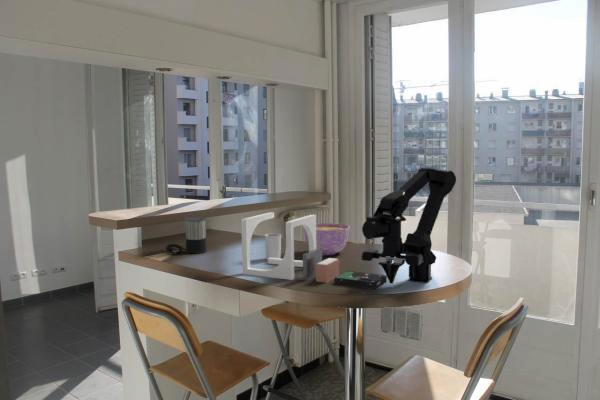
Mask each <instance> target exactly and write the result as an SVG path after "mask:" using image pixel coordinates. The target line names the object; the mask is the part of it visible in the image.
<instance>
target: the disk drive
mask: <svg viewBox="0 0 600 400" xmlns="http://www.w3.org/2000/svg"><path fill="white" fill-rule="evenodd" d="M387 280H388V278H387V275H386V274H385V275H384V274H377V273H368V272H362V271H353V270H345V271H343V272H342V273H340V274H339V275H338V276H337V277H335V278H334V279H333V283H334V284H335V285H343V286H350V287H355V288H362V287H364V289H369V288H370V289H369V290H377V289H378V288H379V286H380V287H381V286H383V285H384V284H385V283H387ZM376 288H377V289H376Z"/></svg>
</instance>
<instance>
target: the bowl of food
mask: <svg viewBox="0 0 600 400" xmlns="http://www.w3.org/2000/svg"><path fill="white" fill-rule="evenodd" d="M302 228H303V233H304V237H305V238H304V239H305V241H306V245H307V247H308V248H309V239H308V235H307V232H306V230H305V228H304V227H303V226H302ZM350 229H351V226H350V225H348V224H344V223H334V222H320V223H317V222H316V249H317V248H322V256H334V255H336V254H337V253H339V252H341V251H343V250H344V248H345V247H346V246H347V243H348V242H347V241H348V238H349V233H350Z"/></svg>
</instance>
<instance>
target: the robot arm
mask: <svg viewBox="0 0 600 400" xmlns="http://www.w3.org/2000/svg"><path fill="white" fill-rule="evenodd" d="M456 183H457V176H456V174H455V173H454V172H453V171H452V170H439V169H435V168H432V167H420V168H419V169H418V170H417V172H416V173H415V174H413V176H412V177H411V178H409V180H408V181H406V182H405V183H404V184H403V185H402V186H401V187H400V188H399V189H397V190H395V191H392V192H390V193H388V194H386V195H384V196H383V197H382V198H381V199H380V201H379V204H378V205H377V208H376V210H375V212H374V213H373V214H372V215H373V216H367V217H366V221H364V223H363V225H362V228H361V232H362V235H363V236H364V237H365V239H367V240H373V239H378V238H382V239H381V243H382V252H379V250H378V249H373V248H371V249H369V248H368V249H365V250H364V251H363V252H362V253H361V261H363V262H364V261H365V262H371V261H372V260H374V259H379V261H378V265H380V266H381V268H382V269H383V271H384V273H385V276H387V280H388V282H389V284H392V285H393V284H394V281H395V278H396V276H397V273H398V271H399V270H400V268H401V266H403V265H405V263H406V264H407V265H408V281H411V282H420V283H430V281H431V280H432V279H433V276H432V265H433V264H435V263H436V259H437V256H436V255H435V254H434V252H433V251H432V245H433V244H432V240H431V234H432V231H433V228H434V225H435V224H436V220H437V218H438V215H439V214H440V213H439V212H440V210H441V207H442V204H443V201H444V199H445V197H446V196H447V195H448V194H450V193H451V192H452V190H453V189H454V187H455V185H456ZM427 184H428V188H429V194H428V197H427V199H426V202H425V205H424V208H423V209H422V210H423V211H422V214H421V216H420V219H419V221H418V224H417V227H416V229H415V231H414V232H410V233H407V234H406V238H405V240H404V242H403V238H402V222H406V221H407V218H405V216H403V214H404V212H405V211H406V209H407V208H408V207H409V203H410V200H411V199H413V197H414V196H416V195H417V193H419V192H420V191H421V190H422V189H423V188H424V187H425V186H426V185H427Z"/></svg>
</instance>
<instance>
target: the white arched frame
mask: <svg viewBox="0 0 600 400" xmlns="http://www.w3.org/2000/svg"><path fill="white" fill-rule="evenodd" d="M274 218H275V212H271V211H270V212H265V213H261V214H258V215H254V216H253V215H252V216H249V217H244V218H241V220H240V221H241V225H240V226H241V255H242V257H241V259H242V261H241V262H242V275H249V276H255V277H258V276H259V277H265V278H273V279H280V280H281V279H282V280H290V281H292V280H294V279H295V267H298V268H299V267H300V268H303V260H299V259H298V260H297V259H295V239H294V238H295V237H294V236H295V234H294V233H295V231H294V228H295V227H299V226H302V228H303V227H304V228H305V230H306V232H307V235H308V239H309V247H308V252H310V251H313V250H315V249H316V223H317V214H309V215H305V216H301V217H299V218H295V219H292V220H287V221H286V222H285V253H284V256H283V258H281V257H280V258H268V260H267V264H270V265H277V266H275V267H274V268H270V269H263V268H262V269H261V268H255V267H251V242H252V238H253V234H254V231H255V229H256V228H257V226H258V225H259V224H260V223H261V222H265V221H267V220H270V219H274Z"/></svg>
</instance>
